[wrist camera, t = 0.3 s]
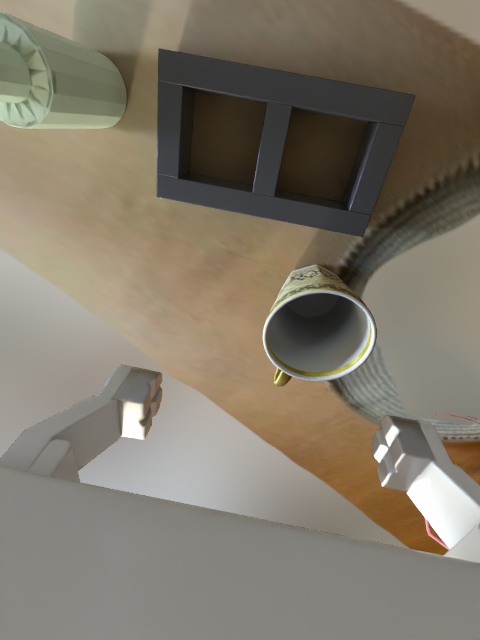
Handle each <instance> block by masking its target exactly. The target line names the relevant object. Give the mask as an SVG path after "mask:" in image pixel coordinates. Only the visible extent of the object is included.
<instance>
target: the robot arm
mask: <svg viewBox="0 0 480 640" xmlns="http://www.w3.org/2000/svg"><path fill="white" fill-rule="evenodd" d="M161 382H162V373H160V372H156V371H151V370H146V369H142V368H137V367H131V366H126V365H120V366H118V367H117V369H116V370H115V371H114V373H113V374H112V376H111V377H110V379H109V380H108V381H107V383H106V385H105V386H104V387H103V389H102V390H101V391H100V393H99V394H98V396H94V395H93V396H91V397H89V398H87V399H85V400H84V401H81V402H79V403H77V404H75V405H73V406H71V407H69V408H67V409H65V410H63V411H62V412H60V413H58V414H56V415H54V416H52V417H50V418H48V419H46V420H44V421H42V422H40V423H38V424H36V425H34V426H32V427H30V428H29V429H26V430H24V431H23V432H22V433H21V435H20V436H19V437H18V438H17V439H16V440H15V442H14V443H13V444H12V445H11V446H10V447H9V448H8V450H7V451H6V452H5V453H4V454H3V455H2V457H1V458H0V640H480V485H479V484H478V483H477V482H476V481H474V480H473V479H472V478H471V477H470V476H469V475H468V474H467V473H466V472H464V471H463V470H462V469H461V468H460V467H459V466H458V465H454V464H452V462H451V460H450V458H449V456H448V454H447V452H446V450H445V448H444V446H443V444H442V442H441V440H440V438H439V436H438V434H437V432H436V430H435V428H434V426H433V425H432V424H431V423H429V422H424V421H418V420H412V419H407V418H401V417H395V416H390V415H386V416H385V417H383V419H382V421H381V424H382V427H381V428H379V429H377V430H376V431H375V433H374V435H373V439H372V451H373V455H374V457H375V458H376V459H377V461H378V462H379V463H380V464H379V466H378V467H377V470H378V474H379V477H380V481H381V484H382V487H387V488H391V489H396V490H400V491H405V492H407V494H408V496H409V497H410V498H411V500H412V501H413V502H414V504H415V505H416V506H417V507H418V509H419V510H420V511H421V513H422V514H423V515H424V517H425V518H426V519H427V521H428V522H429V523H430V525H431V526H432V527H433V529H434V530H435V531H436V533H437V534H438V535H439V536H440V538H441V539H442V540H443V542H444V543H445V544H446V546H447V547H448V548H449V551H448V552H447V553H446V554H445V555H438V554H433V553H428V552H423V551H418V550H413V549H408V548H403V547H398V546H393V545H388V544H383V543H378V542H373V541H368V540H363V539H358V538H353V537H348V536H343V535H338V534H333V533H328V532H323V531H318V530H313V529H308V528H303V527H298V526H293V525H288V524H283V523H278V522H273V521H268V520H264V519H258V518H254V517H248V516H244V515H239V514H234V513H229V512H224V511H218V510H214V509H209V508H204V507H199V506H194V505H189V504H184V503H179V502H174V501H169V500H164V499H159V498H154V497H149V496H144V495H139V494H134V493H129V492H124V491H119V490H114V489H109V488H104V487H99V486H94V485H90V484H85V483H80V479H79V475H78V471H79V470H80V469H81V468H83V467H84V466H85V465H86V464H88V463H89V462H90V461H91V460H92V459H94V458H95V457H96V456H98V455H99V454H100V453H101V452H103V451H104V450H105V449H107V448H108V447H109V446H111V445H112V444H113V443H114V442H116V441H117V440H118V439H119V438H121V436H124V437H130V438H136V439H142V440H145V438H146V436H147V434H148V432H149V430H150V427H151V425H152V417H153V416H155V415H156V414H157V412H158V409H159V406H160V402H161V398H162V389H161V387H160V384H161Z"/></svg>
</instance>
